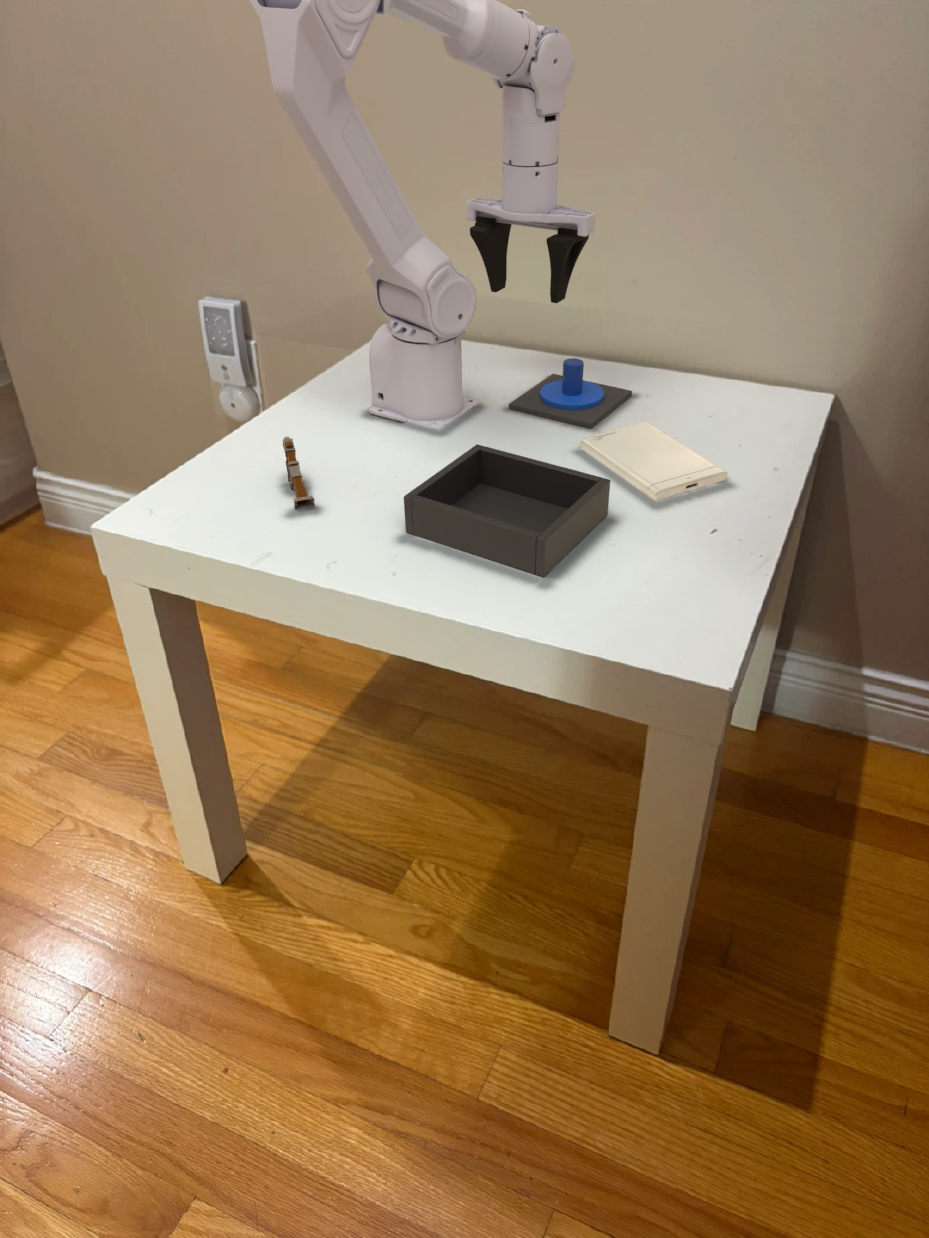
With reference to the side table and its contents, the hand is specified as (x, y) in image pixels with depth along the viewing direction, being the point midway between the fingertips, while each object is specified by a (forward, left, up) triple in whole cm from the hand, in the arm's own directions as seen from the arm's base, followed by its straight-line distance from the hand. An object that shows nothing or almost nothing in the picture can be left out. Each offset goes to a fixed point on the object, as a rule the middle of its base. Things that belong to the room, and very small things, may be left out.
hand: (527, 295), depth 106 cm
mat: (+8, -4, -9) cm, 13 cm away
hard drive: (+22, -14, -10) cm, 28 cm away
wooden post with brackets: (-4, -36, -10) cm, 37 cm away
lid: (+8, -4, -9) cm, 13 cm away
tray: (+16, -31, -9) cm, 36 cm away
